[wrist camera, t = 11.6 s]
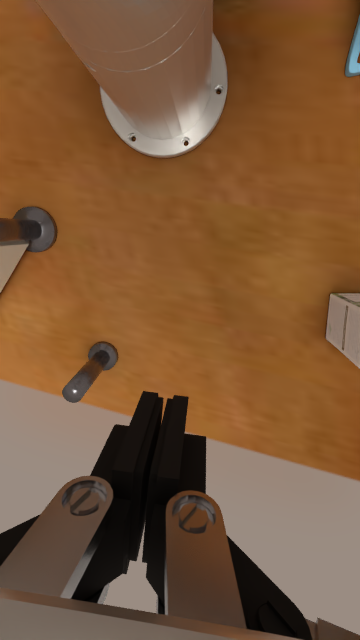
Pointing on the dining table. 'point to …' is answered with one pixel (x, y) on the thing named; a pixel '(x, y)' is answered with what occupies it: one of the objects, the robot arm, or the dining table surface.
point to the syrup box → (345, 324)
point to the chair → (354, 54)
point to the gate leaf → (10, 258)
